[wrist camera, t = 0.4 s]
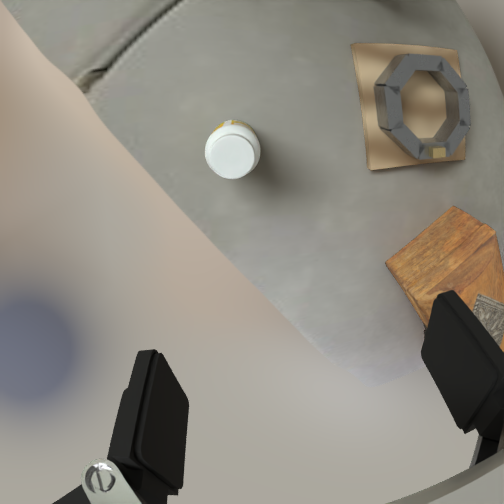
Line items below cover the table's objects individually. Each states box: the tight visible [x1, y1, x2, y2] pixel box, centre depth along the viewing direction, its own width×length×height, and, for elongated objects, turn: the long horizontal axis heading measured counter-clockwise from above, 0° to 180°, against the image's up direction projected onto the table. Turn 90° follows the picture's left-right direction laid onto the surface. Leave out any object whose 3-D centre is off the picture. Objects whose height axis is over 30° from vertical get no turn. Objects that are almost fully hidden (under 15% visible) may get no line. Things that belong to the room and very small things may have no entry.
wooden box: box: [385, 206, 504, 352], centre depth 41 cm, size 30×16×14 cm, turn 40°
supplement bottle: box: [205, 120, 260, 179], centre depth 30 cm, size 5×5×10 cm
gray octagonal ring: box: [373, 53, 471, 160], centre depth 30 cm, size 13×13×4 cm
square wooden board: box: [351, 43, 465, 170], centre depth 32 cm, size 16×16×1 cm
